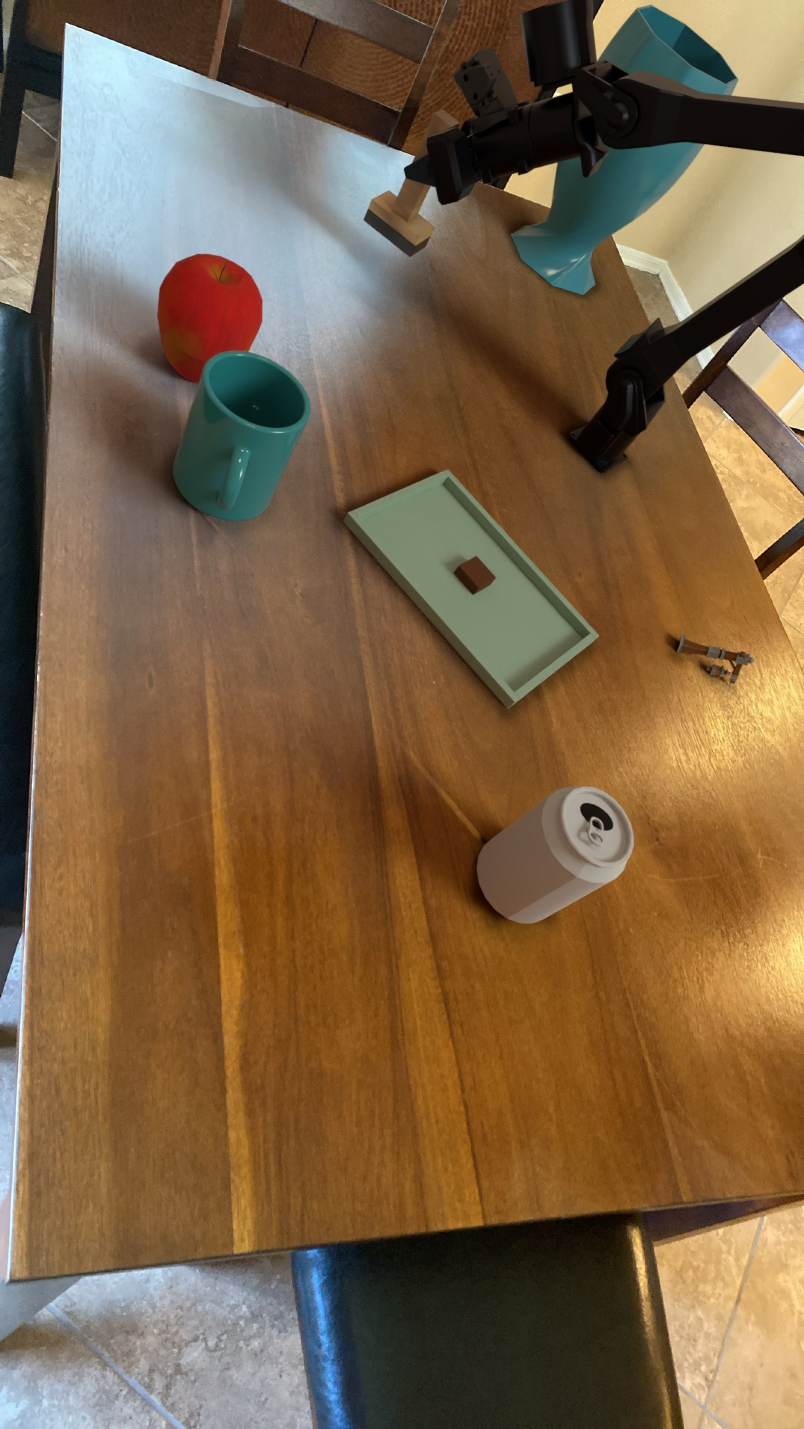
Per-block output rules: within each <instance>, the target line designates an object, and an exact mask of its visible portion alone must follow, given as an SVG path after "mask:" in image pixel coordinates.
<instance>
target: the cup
mask: <svg viewBox="0 0 804 1429" xmlns="http://www.w3.org/2000/svg"><path fill="white" fill-rule="evenodd" d="M311 411H312V408H311V401H310V398H309V395H308V393H307V390H306V389H305V387H304V386H303V385H302V383H301V382H300V381H299V379H297V377H296V376H295V375H294V374H293V373H292V372H290V371H289V370H288V369H287V368H285V367H284V366H283V365H281V364H279V363H278V362H276V361H274V360H273V359H271V358H268V357H266V356H263V355H260V354H258V353H254V352H250V351H249V352H246V351H225V352H221V353H218V354H216V355H214V356H213V357H211V358H210V359H209V360H208V361H207V362H206V363H205V365H204V367H203V370H202V373H201V376H200V379H199V383H197V385H196V389H195V393H194V395H193V399H192V402H191V406H190V409H189V411H188V415H187V418H186V421H185V425H184V428H183V430H182V434H181V437H180V441H179V443H178V447H177V450H176V453H175V456H174V459H173V463H172V476H173V480H174V483H175V486H176V487H177V490H178V491H179V493H180V494H181V496H182V497H183V498H184V499H185V500H186V501H187V503H189V504H190V505H191V506H192V507H194V508H195V509H196V510H198V511H199V512H201V513H202V514H204V515H207V516H211V517H213V518H216V519H219V520H224V521H229V522H243V521H250V520H253V519H256V518H258V517H259V516H261V515H262V514H263V513H265V512H266V510H267V509H268V508H269V506H270V504H271V502H272V501H273V498H274V496H275V494H276V492H277V490H278V487H279V486H280V483H281V481H282V478H283V476H284V474H285V472H286V470H287V467H288V465H289V464H290V461H291V459H292V456H293V455H294V452H295V450H296V448H297V446H298V443H299V441H300V439H301V437H302V435H303V433H304V431H305V429H306V426H307V424H308V422H309V420H310V417H311Z"/></svg>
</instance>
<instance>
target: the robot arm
mask: <svg viewBox="0 0 804 1429" xmlns="http://www.w3.org/2000/svg"><path fill="white" fill-rule="evenodd" d="M519 15H520V22H521V29H522V36H523V42H524V50H525V56H526V57H525V58H526V64H527V70H528V77H529V78H528V79H529V83H533V88H539V87H540V90H541V93H546V92H549V91H552V90H555V89H560V88H562V87H565V86H568V85H571V91H570V92H566V93H563V94H559V95H555V96H553V97H549V98H547V99H546V98H545V99H543V100H539V101H536V102H534V101H530V99H525V100H522V101H519V102H518V99H517V98H516V94H515V92H514V89H513V86H512V83H511V82H510V79H509V77H508V75H507V72H506V71H505V69H504V67H503V65H502V63H501V61H500V59H499V56H498V54H497V52H496V51H495V50H494V49H493V48H492V47H490V46H488V47H486V48H485V47H484V48H482V49H480V50H477V51H476V52H475V53H474V54H473V55H472V56H470V57H469V58H468V59H467V60H465V61H463V62H461V63H460V66H459V67H458V68H457V69H456V70H455V71H454V73H453V79H454V81H455V83H456V86H457V87H458V88H459V89H460V91H461V92H462V95H463V96H464V99H465V101H466V103H467V104H468V106H469V107H470V109H471V111H472V113H473V114H474V115H475V116H472V117H470V118H468V119H465V120H464V121H463V123H462V126H461V127H460V128H459V127H454V128H452V127H450V128H448V129H446V130H444V131H441V132H439V133H436V134H434V135H432V136H430V137H428V138H427V144H426V146H427V151H428V154H427V155H425V156H424V157H422V158H420V159H418V160H417V161H415V162H413V161H412V162H413V163H412V162H411V163H409V164H407V165H406V166H404V167H403V173H404V177H405V178H406V179H409V180H412V181H416V182H419V183H422V184H426V185H429V186H431V188H432V187H433V188H435V193H436V196H437V197H436V198H437V201H438V203H439V204H440V205H441V206H445V205H446V206H447V205H450V204H454V203H458V202H459V201H461V200H463V199H464V198H466V197H468V196H469V195H471V194H472V191H473V189H474V187H475V185H476V183H479V182H480V181H482V184H483V185H486V184H491V183H493V182H495V181H496V180H498V179H499V178H504V177H508V176H511V175H516V174H517V176H522V175H527V174H529V173H531V171H533V170H535V169H539V168H542V167H546V166H549V165H553V164H557V163H558V162H562V161H566V160H570V159H574V158H578V157H580V159H581V167H582V175H583V177H585V178H587V177H589V176H590V175H592V174H594V173H595V172H597V171H598V169H599V167H600V165H601V163H602V161H603V160H604V158H605V157H606V156H607V155H608V154H609V153H610V149H609V148H607V147H610V148H613V149H619V150H621V149H633V148H645V147H654V146H660V145H666V144H672V143H683V142H689V143H697V144H705V145H706V146H713V147H714V146H715V147H722V148H730V149H739V150H748V151H754V152H762V153H763V152H764V153H772V154H779V155H789V156H797V157H803V158H804V102H800V101H799V102H798V101H787V100H779V99H771V98H770V99H767V98H759V97H749V96H741V95H732V96H731V95H721V94H711V93H704V92H701V91H698V90H695V89H692V88H690V87H688V86H686V85H684V84H682V83H680V82H678V81H676V80H673V79H670V78H667V77H664V76H661V75H658V74H655V73H652V72H648V71H638V72H634V73H632V74H631V73H629V72H627V71H625V70H624V69H622V68H620V67H618V66H617V65H615V64H613V63H611V62H610V61H608V60H606V59H602V60H599V61H597V60H598V57H597V49H596V39H595V38H596V37H595V28H594V1H593V0H560V1H556V2H551V3H547V4H543V5H541V6H537V7H534V8H532V9H530V10H527V11H524V12H522V13H520V14H519ZM600 139H601V140H602V142H601V140H600ZM603 144H605V145H606V146H607V147H605V146H604V145H603ZM705 145H704V146H705ZM803 285H804V233H803V234H802V235H801V236H800V237H799V238H798V239H797V240H795V241H794V242H792V243H791V244H789V245H788V246H787V247H785V248H784V249H783V250H781V251H779V252H778V253H776V255H774V256H772V257H771V258H770V259H769V260H767V261H766V262H764V263H763V264H761V265H759V266H758V267H757V268H756V269H754V270H753V271H751V272H750V273H748V274H747V275H745V276H744V277H742V278H741V279H740V280H738V281H737V282H736V283H733V285H731V286H730V287H728V288H727V289H725V290H724V291H723V292H721V293H719V294H718V295H717V296H715V297H714V298H713V299H711V300H710V301H708V302H707V303H706V304H704V305H703V306H701V307H700V308H698V309H697V310H695V311H694V312H693V313H691V314H690V315H688V316H687V317H685V318H684V319H682V320H681V321H679V322H677V323H674V324H672V325H669V326H666V327H664V325H663V323H662V321H661V318H660V317H657V318H656V319H655V320H654V321H653V322H652V323H651V324H650V325H648V326H647V328H646V329H644V330H643V331H642V332H640V333H636V334H631V336H630V337H629V338H628V339H627V340H626V341H625V342H624V343H623V344H622V345H621V346H620V348H619V349H618V350H617V351H616V352H615V353H614V354H613V357H614V358H615V360H614V361H613V362H612V363H611V365H609V367H608V368H607V370H606V374H605V378H604V379H605V380H604V383H605V389H606V391H607V396H606V398H605V401H604V403H603V404H602V405H600V407H599V409H598V410H597V411H596V413H594V415H593V416H592V417H591V419H590V420H589V421H588V423H587V424H586V425H584V426H581V427H578V428H577V429H575V430H572V431H571V432H569V433H568V435H567V437H568V439H569V440H570V441H571V442H572V443H573V444H574V446H576V447H577V448H578V449H579V450H580V452H581V453H582V454H583V455H584V456H585V457H586V459H588V460H589V461H590V463H591V464H593V466H595V467H596V469H597V470H598V471H599V472H600V473H602V474H603V473H606V472H608V471H609V470H612V469H614V468H615V467H617V466H619V465H621V464H623V463H625V462H626V461H627V460H628V458H629V457H628V455H627V454H626V453H625V451H626V450H627V449H628V448H629V447H630V446H631V444H632V443H633V442H634V441H635V440H636V439H637V438H638V436H640V434H641V433H642V432H644V431H646V430H647V429H648V428H649V426H650V424H651V423H652V422H653V420H654V419H655V418H656V416H657V415H658V414H659V412H660V410H662V408H663V407H664V406H665V404H666V402H667V399H666V398H667V397H666V387H665V384H666V383H667V382H668V381H669V380H670V379H671V378H673V376H674V375H675V374H676V373H677V372H678V371H679V370H680V369H681V368H682V367H683V366H684V365H685V364H686V363H687V362H688V361H689V360H690V359H692V358H693V357H695V356H697V355H698V354H699V353H701V352H703V351H704V350H706V349H707V348H708V347H710V346H712V345H713V344H715V343H716V342H718V341H719V340H721V339H723V338H724V337H725V336H728V334H730V333H732V332H733V331H735V330H736V329H738V328H739V327H741V326H742V325H744V324H745V323H747V322H748V321H750V320H751V319H753V318H754V317H756V316H757V315H759V314H760V313H762V312H763V311H765V310H766V309H768V308H770V307H771V306H773V305H774V304H776V303H777V302H778V301H780V300H782V299H783V298H785V297H786V296H787V295H789V294H791V293H792V292H794V291H795V290H797V289H798V288H800V287H802V286H803Z"/></svg>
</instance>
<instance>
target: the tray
mask: <svg viewBox="0 0 804 1429" xmlns="http://www.w3.org/2000/svg"><path fill="white" fill-rule="evenodd" d="M342 523H343V524H344V525H345V526H346V527H347V528H348V529H349V531H350V532H352V534H353V535H354V536H355V537H356V538H357V539H358V541H359V542H360V544H362V546H364V547H365V549H366V550H367V551H368V552H369V553H370V554H371V555H372V556H373V558H374V559H375V560H376V562H378V563H379V564H380V566H381V567H382V568H383V570H385V571H386V573H387V574H388V575H389V576H390V578H392V579H393V581H394V582H395V583H396V584H397V585H398V586H399V587H400V588H401V590H402V591H403V592H404V593H405V594H406V595H407V596H408V598H409V599H410V600H411V601H412V602H413V603H414V604H415V606H416V607H417V608H418V609H419V610H420V611H421V613H423V615H424V616H425V617H426V618H427V619H428V620H429V621H430V622H431V624H432V625H433V626H434V627H435V629H436V630H437V631H438V632H439V633H440V634H441V635H442V636H443V637H444V638H445V639H446V641H447V642H448V644H450V645H451V647H452V648H453V649H454V650H455V651H456V652H457V653H458V654H459V656H460V657H461V658H462V659H463V660H464V662H465V663H466V664H467V665H469V667H470V668H471V669H472V671H474V673H476V675H477V677H478V678H480V680H482V682H483V683H484V684H485V685H486V686H487V687H488V688H489V690H490V691H491V692H492V693H493V694H494V695H495V697H497V699H498V700H499V701H500V702H501V704H503V705H504V707H505V708H506V709H507V710H509V709H510V708H511V707H512V706H514V705H516V704H517V703H518V702H519V701H520V700H521V699H523V698H524V697H525V696H526V695H528V694H529V693H530V692H531V691H533V690H534V689H535V688H536V687H538V686H539V685H541V684H542V683H543V682H544V681H546V680H547V679H548V678H549V677H551V676H552V675H553V674H554V673H556V672H557V671H558V670H560V669H561V668H562V667H563V666H565V665H566V664H567V663H568V662H570V661H571V660H572V659H573V658H574V657H576V656H578V655H579V654H580V653H581V652H583V651H584V650H585V649H587V647H588V646H590V645H591V644H592V643H593V642H594V641H596V640H597V639H598V638H599V637H600V635H599V633H598V632H597V631H596V630H595V629H594V628H593V627H592V626H591V625H590V624H589V622H588V621H587V620H586V619H585V618H584V617H583V616H582V614H580V612H578V610H577V609H576V608H575V607H574V606H573V605H572V604H571V603H570V602H569V601H568V600H567V599H566V597H565V596H564V595H563V594H562V592H560V591H559V590H558V588H557V587H556V586H555V584H553V583H552V582H551V581H550V580H549V578H548V577H547V576H546V575H545V574H544V573H543V572H542V571H541V570H540V568H538V566H537V565H536V564H535V563H534V562H533V561H532V560H531V559H530V558H529V557H528V556H527V554H526V553H525V552H524V551H523V550H522V548H521V547H520V546H519V545H518V544H517V543H516V542H515V541H514V540H513V539H512V538H511V536H510V535H509V534H508V533H507V532H506V531H505V530H504V529H503V528H502V527H501V525H500V524H498V522H497V521H496V520H495V519H494V518H493V517H492V515H490V514H489V513H488V512H487V510H486V509H485V507H483V506H482V505H481V503H479V502H478V500H477V499H476V498H475V496H473V495H472V494H471V493H470V492H469V491H468V489H467V488H466V487H465V486H464V485H463V484H462V483H461V482H460V481H459V480H458V478H457V477H456V476H455V475H454V474H453V473H452V472H451V471H450V470H449V468H446V469H444V470H442V471H440V472H437V473H435V474H432V475H431V476H428V477H426V478H424V479H421V480H419V481H417V482H414V483H412V484H410V485H407V486H405V487H403V488H401V489H398V490H396V491H394V492H392V493H390V494H387V495H385V496H381V497H380V498H378V499H376V500H373V501H371V502H369V503H366V504H364V505H362V506H360V507H357V508H354V509H352V510H351V511H348V512H346V514H345V517H344V519H343V520H342ZM475 556H477V557H478V558H479V559H480V560H481V561H482V562H483V563H484V565H485V566H486V567H487V568H488V569H489V570H490V571H491V572H492V573H493V575H494V576H495V577H496V579H495V580H494V581H493V582H492V583H491V585H489V586H487V587H486V588H484V589H482V590H481V591H479V592H477V593H476V594H474V595H473V594H472V593H471V592H470V591H469V590H468V589H467V587H466V586H465V585H464V584H463V583H462V582H461V581H460V580H459V579H458V577H457V576H456V575H455V574H454V571H455V570H456V569H457V567H458V566H459V565H461V564H463V563H464V562H466V561H468V560H470V559H472V558H473V557H475Z"/></svg>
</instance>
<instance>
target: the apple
mask: <svg viewBox="0 0 804 1429" xmlns="http://www.w3.org/2000/svg"><path fill="white" fill-rule="evenodd" d="M158 290H159V291H158V303H157V312H156V313H157V314H156V317H157V323H158V324H157V325H158V331H159V337H160V345H161V348H162V352H163V354H164V356H165V358H166V359H167V361H168V362H169V363H170V365H171V367H173V370H175V371H176V373H178V374H179V376H180V377H182V378H183V379H184V380H187V381H189V382H192V383H196V384H198V383H199V379H200V376H201V373H202V370H203V367H204V365H205V363H206V362H207V361H208V360H209V359H210V358H211V357H213V356H214V355H216V354H218V353H221V352H225V351H246V352H250V350H251V347H252V345H253V344H254V342H255V340H256V337H257V335H258V334H259V332H260V328H261V326H262V323H263V308H264V307H263V305H264V304H263V303H264V302H263V298H262V295H261V292H260V288H259V287H258V285H257V283H256V281H255V280H254V277H253V275H251V274H250V273H249V272H248V271H247V270H246V269H245V268H244V267H243V266H241V265H239V264H238V263H236V262H234V261H233V260H230V259H229V258H226V257H224V256H222V255H217V254H211V253H196V254H193V255H190V256H187V257H184V258H182V259H180V260H178V261H176V262H175V263H174V265H173V266H171V268H170V270H169V271H168V272H167V273H166V275H164V278H163V280H162V282H161V284H160V286H159V289H158Z"/></svg>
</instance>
